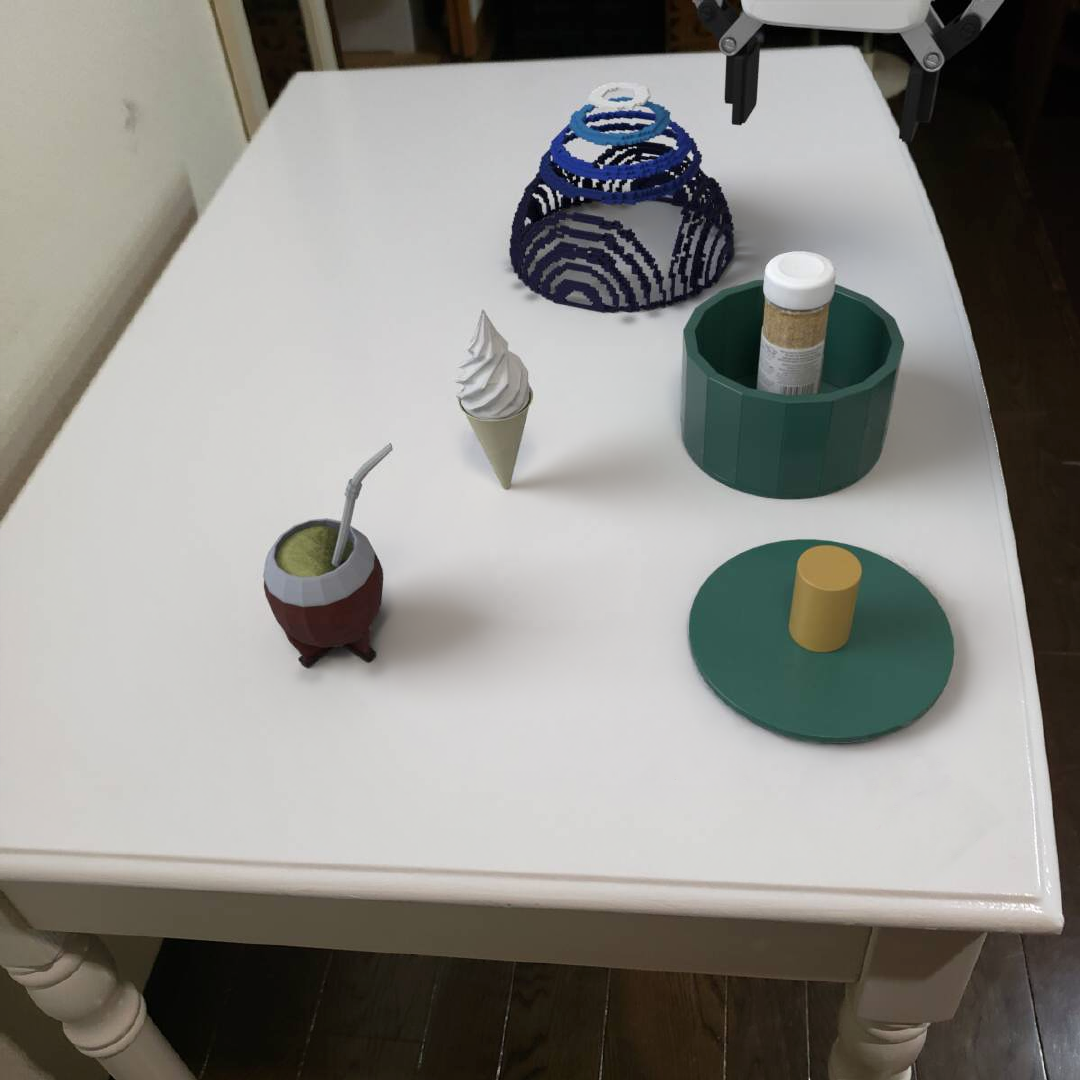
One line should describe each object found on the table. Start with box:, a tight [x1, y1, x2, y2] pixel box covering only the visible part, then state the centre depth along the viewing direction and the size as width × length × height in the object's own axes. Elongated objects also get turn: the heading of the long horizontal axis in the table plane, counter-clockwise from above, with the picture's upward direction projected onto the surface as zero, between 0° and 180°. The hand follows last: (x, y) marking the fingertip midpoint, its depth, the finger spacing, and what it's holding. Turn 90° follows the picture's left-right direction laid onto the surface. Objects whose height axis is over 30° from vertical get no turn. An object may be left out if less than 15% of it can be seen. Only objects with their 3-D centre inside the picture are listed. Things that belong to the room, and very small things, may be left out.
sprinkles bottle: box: [757, 250, 837, 396], centre depth 77 cm, size 5×5×13 cm
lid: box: [688, 538, 955, 744], centre depth 66 cm, size 16×16×7 cm
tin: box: [680, 279, 905, 500], centre depth 79 cm, size 15×15×8 cm
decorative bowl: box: [508, 81, 736, 314], centre depth 97 cm, size 20×20×14 cm
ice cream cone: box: [453, 309, 534, 490], centre depth 75 cm, size 5×5×15 cm
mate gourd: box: [262, 442, 394, 669], centre depth 66 cm, size 8×8×15 cm
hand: (824, 123), depth 65 cm, fingers open, 9 cm apart
